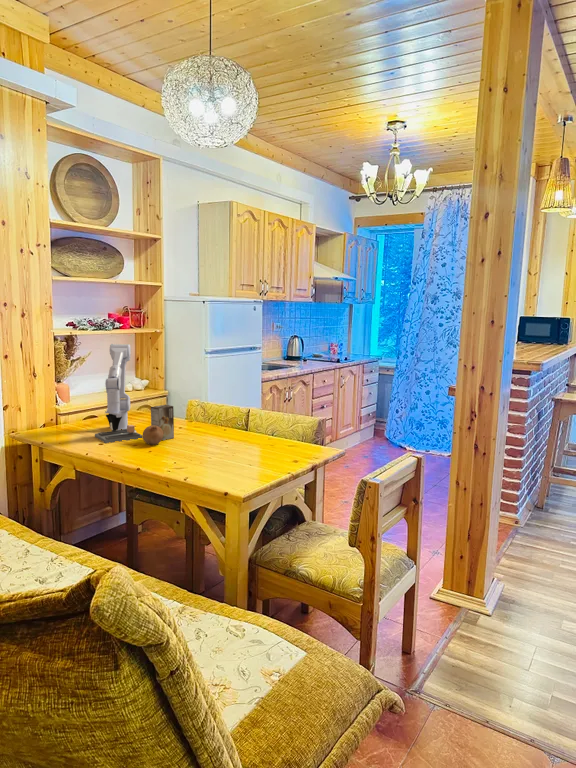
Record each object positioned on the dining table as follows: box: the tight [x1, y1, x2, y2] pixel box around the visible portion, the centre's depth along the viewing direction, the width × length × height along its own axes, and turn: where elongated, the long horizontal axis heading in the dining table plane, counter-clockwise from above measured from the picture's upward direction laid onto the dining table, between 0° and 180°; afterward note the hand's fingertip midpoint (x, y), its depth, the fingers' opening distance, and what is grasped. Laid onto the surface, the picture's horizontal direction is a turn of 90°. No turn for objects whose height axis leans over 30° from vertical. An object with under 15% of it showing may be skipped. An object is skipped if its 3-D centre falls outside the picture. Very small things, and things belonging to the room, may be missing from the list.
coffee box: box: [150, 404, 175, 441], centre depth 260 cm, size 9×6×16 cm
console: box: [94, 429, 143, 444], centre depth 260 cm, size 15×18×3 cm
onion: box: [142, 425, 163, 446], centre depth 250 cm, size 10×9×10 cm
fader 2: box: [127, 424, 135, 435], centre depth 258 cm, size 3×2×5 cm
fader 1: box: [109, 423, 117, 433], centre depth 263 cm, size 3×2×5 cm
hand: (114, 429), depth 263 cm, fingers closed on fader 1, 3 cm apart
